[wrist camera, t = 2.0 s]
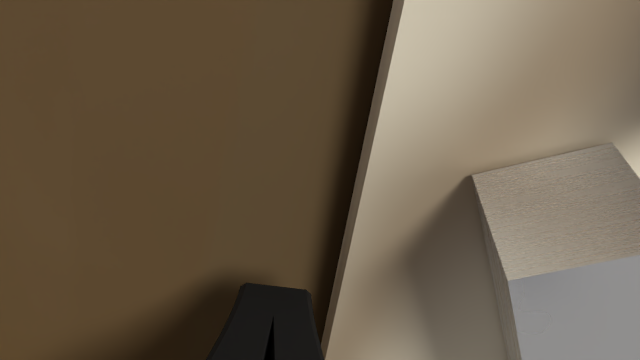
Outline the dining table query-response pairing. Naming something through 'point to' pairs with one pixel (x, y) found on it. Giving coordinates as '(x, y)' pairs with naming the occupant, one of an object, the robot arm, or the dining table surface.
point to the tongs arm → (565, 254)
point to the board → (468, 159)
